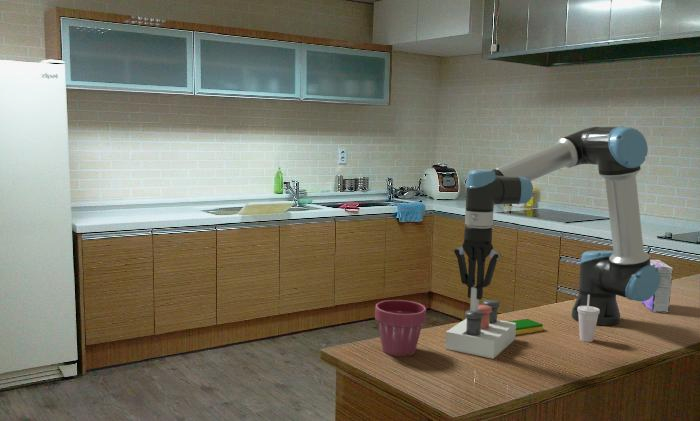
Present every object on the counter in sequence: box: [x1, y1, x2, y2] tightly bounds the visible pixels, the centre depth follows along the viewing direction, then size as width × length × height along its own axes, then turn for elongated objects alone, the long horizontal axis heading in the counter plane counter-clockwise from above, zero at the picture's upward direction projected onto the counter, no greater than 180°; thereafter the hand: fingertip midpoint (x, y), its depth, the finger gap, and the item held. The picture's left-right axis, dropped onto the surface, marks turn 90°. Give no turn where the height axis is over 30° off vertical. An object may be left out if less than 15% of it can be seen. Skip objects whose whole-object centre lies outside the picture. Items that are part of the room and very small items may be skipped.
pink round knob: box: [477, 304, 492, 329], centre depth 186 cm, size 5×5×6 cm
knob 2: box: [481, 299, 501, 323], centre depth 192 cm, size 5×5×6 cm
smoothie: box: [577, 294, 600, 343], centre depth 192 cm, size 6×6×14 cm
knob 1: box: [464, 309, 484, 336], centre depth 180 cm, size 5×5×6 cm
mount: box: [444, 317, 516, 360], centre depth 187 cm, size 14×20×5 cm
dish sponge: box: [507, 318, 544, 336], centre depth 202 cm, size 7×14×2 cm, turn 117°
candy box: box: [640, 259, 674, 313], centre depth 231 cm, size 14×6×16 cm, turn 172°
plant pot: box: [374, 299, 427, 357], centre depth 179 cm, size 14×14×13 cm
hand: (474, 309), depth 180 cm, fingers closed
